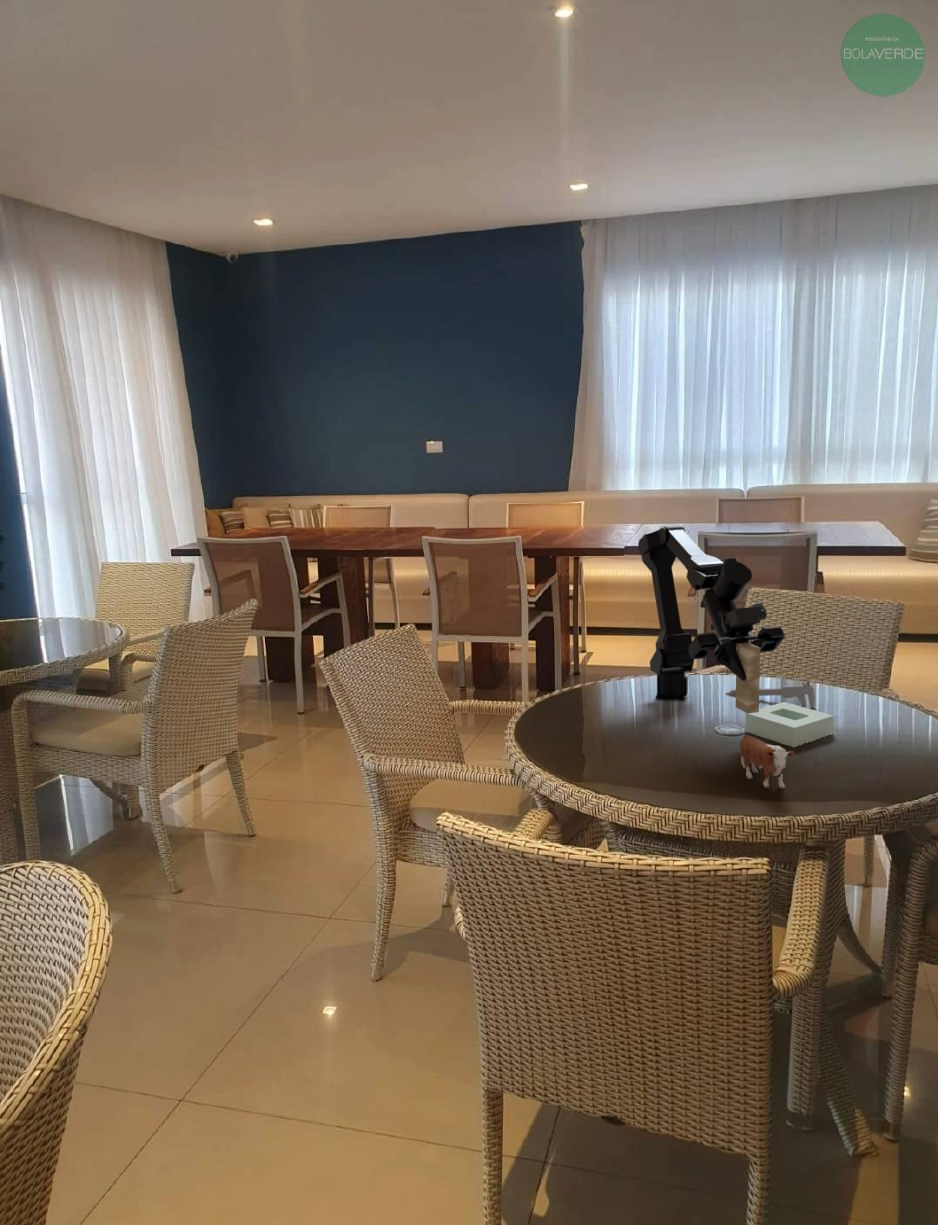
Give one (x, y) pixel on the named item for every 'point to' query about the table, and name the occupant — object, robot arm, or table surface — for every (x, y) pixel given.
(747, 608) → the robot arm
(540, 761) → the table surface
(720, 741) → the table surface
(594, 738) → the table surface
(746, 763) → the bull figurine
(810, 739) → the end cap
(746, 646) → the slat
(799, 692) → the caliper
